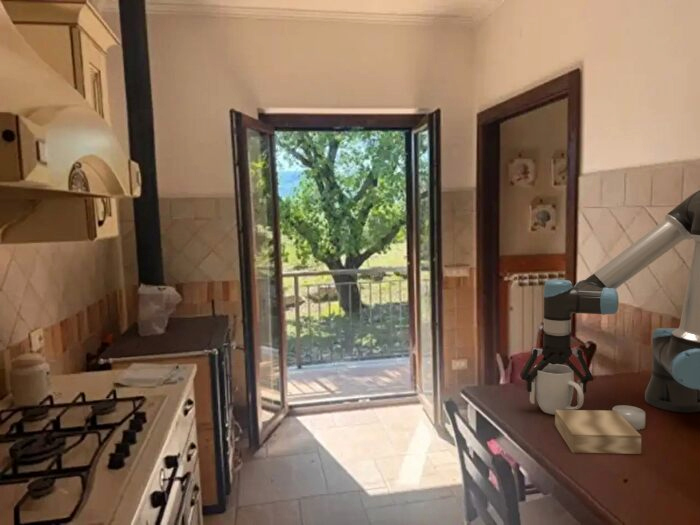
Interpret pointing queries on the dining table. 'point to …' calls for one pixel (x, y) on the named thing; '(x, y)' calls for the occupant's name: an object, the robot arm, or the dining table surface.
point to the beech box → (597, 432)
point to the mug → (556, 388)
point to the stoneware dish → (632, 415)
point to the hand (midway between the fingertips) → (555, 402)
